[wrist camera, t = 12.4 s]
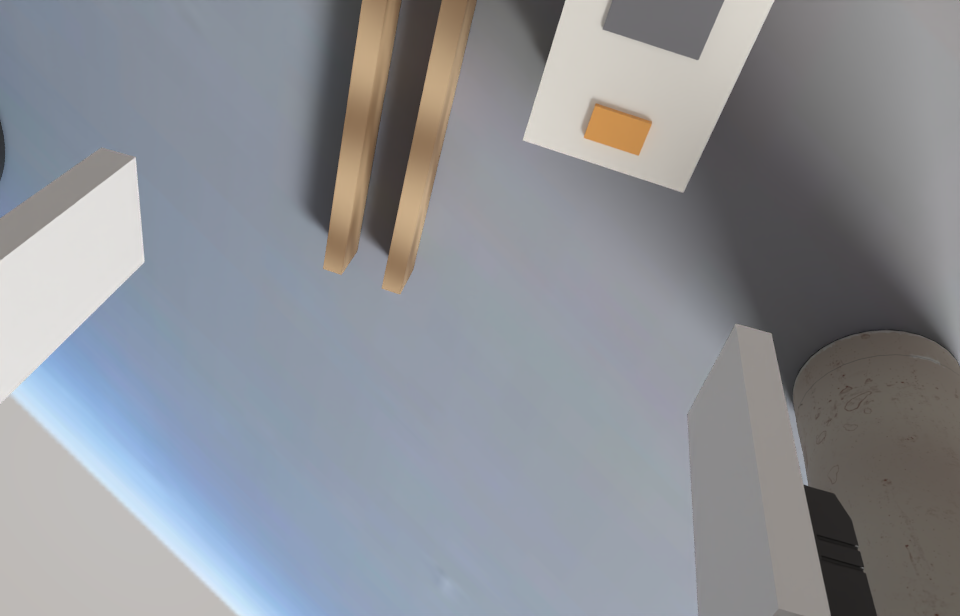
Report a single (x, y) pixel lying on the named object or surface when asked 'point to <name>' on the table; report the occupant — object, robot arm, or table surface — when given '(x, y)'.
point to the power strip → (642, 82)
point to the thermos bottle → (890, 461)
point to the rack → (364, 124)
